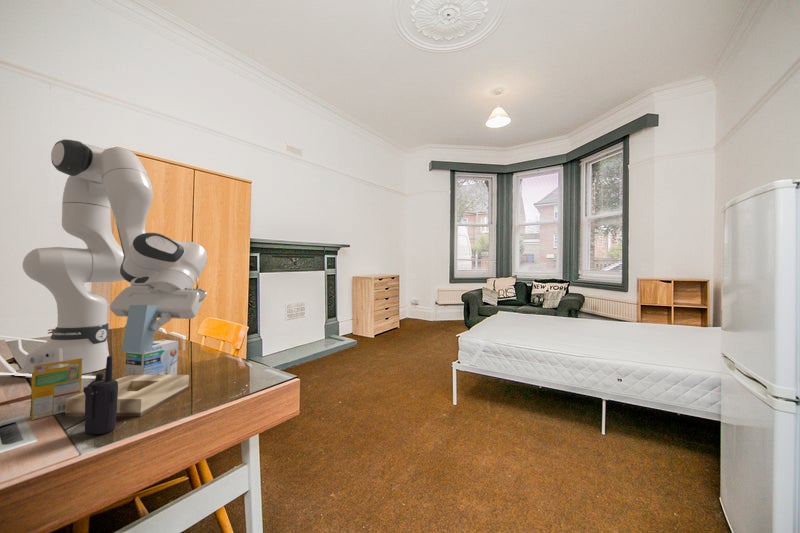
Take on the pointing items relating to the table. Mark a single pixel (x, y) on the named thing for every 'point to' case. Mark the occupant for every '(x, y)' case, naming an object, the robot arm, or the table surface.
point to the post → (139, 328)
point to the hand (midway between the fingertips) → (140, 329)
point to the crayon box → (54, 387)
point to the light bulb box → (154, 360)
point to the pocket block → (136, 394)
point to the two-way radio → (101, 402)
